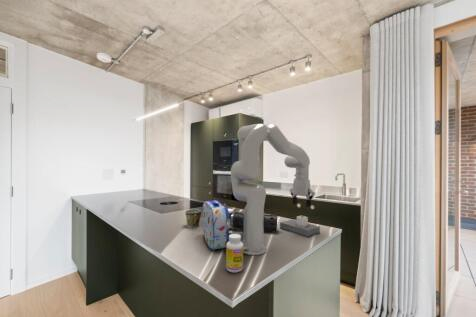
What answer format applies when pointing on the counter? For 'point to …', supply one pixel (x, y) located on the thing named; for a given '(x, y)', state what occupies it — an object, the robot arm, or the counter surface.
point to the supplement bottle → (234, 253)
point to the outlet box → (300, 228)
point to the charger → (302, 221)
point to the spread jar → (229, 218)
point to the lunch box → (215, 224)
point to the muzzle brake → (269, 221)
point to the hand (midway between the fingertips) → (301, 205)
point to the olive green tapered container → (193, 218)
